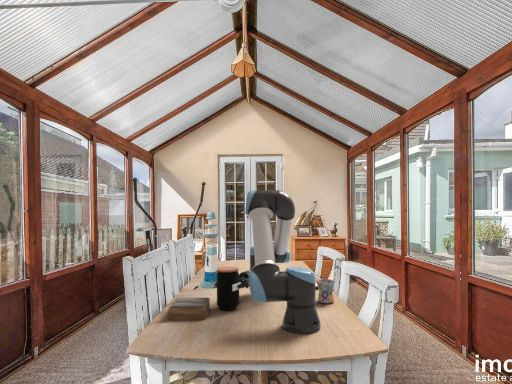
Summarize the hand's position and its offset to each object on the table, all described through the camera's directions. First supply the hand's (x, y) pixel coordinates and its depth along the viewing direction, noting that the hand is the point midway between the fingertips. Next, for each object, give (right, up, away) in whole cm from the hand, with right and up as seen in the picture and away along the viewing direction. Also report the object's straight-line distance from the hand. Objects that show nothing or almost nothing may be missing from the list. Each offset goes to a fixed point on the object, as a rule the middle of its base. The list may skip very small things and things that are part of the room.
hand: (222, 286), depth 154 cm
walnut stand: (-15, -11, -5) cm, 19 cm away
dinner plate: (+44, -13, +48) cm, 66 cm away
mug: (+51, -11, +13) cm, 54 cm away
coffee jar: (+2, -10, +3) cm, 11 cm away
